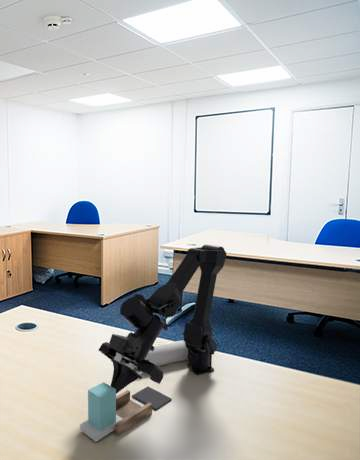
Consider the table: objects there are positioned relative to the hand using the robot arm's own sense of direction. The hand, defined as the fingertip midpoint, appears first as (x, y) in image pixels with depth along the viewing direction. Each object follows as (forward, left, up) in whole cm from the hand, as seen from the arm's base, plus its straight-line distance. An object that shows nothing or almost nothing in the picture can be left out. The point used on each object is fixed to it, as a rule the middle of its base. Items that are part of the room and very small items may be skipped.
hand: (110, 395), depth 83 cm
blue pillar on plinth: (+2, +1, -7) cm, 8 cm away
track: (-3, -2, -7) cm, 8 cm away
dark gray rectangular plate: (-13, -6, -7) cm, 16 cm away
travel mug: (-13, -22, -4) cm, 26 cm away
